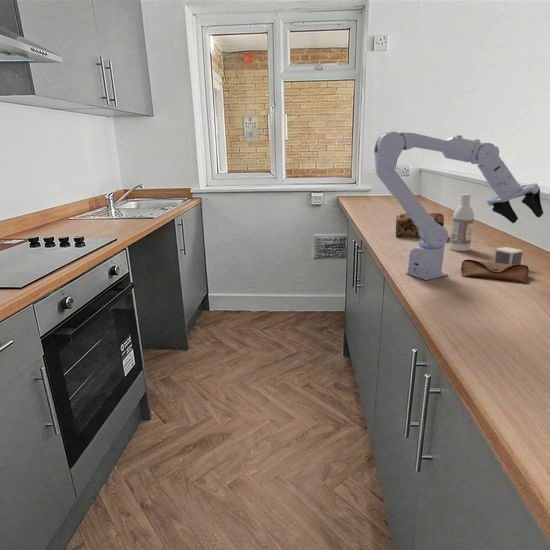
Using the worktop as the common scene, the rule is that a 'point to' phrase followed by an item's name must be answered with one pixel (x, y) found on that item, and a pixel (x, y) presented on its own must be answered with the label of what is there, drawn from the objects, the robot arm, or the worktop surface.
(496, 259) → the cube
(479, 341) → the worktop surface
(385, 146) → the robot arm
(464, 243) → the bath foam
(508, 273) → the sunglasses case
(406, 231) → the bread
